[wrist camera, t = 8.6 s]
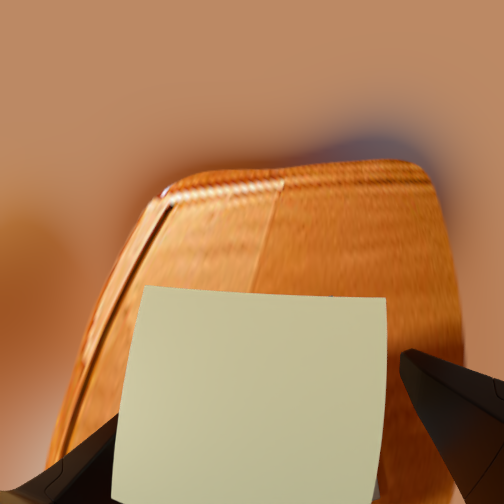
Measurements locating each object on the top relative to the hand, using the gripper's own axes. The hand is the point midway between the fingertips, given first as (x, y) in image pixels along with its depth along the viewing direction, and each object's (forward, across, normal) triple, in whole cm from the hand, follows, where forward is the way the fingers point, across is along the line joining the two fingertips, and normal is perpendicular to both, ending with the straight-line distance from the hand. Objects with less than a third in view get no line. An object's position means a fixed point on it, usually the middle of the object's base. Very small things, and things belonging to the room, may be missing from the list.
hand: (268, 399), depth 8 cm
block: (+6, 0, +6) cm, 8 cm away
